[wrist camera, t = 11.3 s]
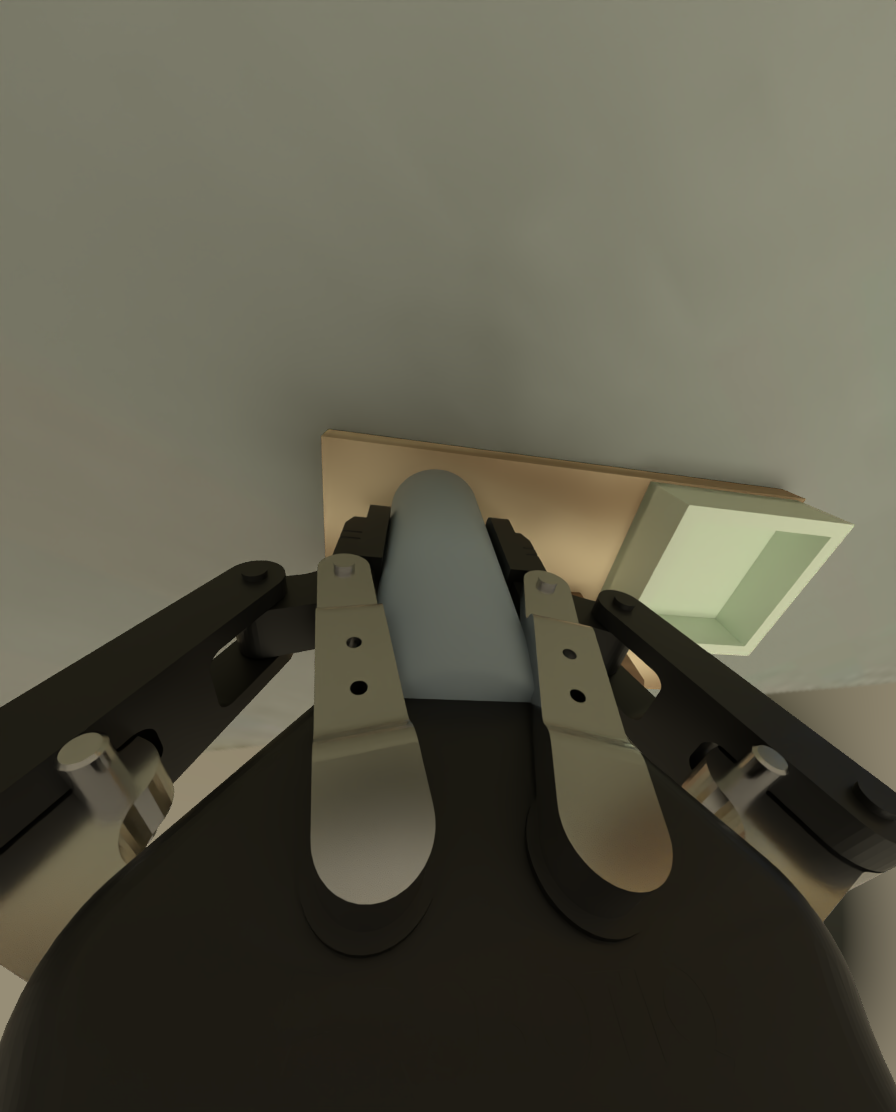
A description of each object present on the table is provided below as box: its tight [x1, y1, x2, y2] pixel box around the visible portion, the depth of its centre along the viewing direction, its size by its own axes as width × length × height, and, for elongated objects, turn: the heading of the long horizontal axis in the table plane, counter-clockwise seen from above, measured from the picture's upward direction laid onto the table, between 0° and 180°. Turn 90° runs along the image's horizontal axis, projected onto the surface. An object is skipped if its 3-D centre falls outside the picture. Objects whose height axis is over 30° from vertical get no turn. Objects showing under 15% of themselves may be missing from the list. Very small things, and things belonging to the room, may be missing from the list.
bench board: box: [321, 429, 805, 689], centre depth 17 cm, size 13×21×5 cm, turn 82°
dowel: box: [376, 469, 535, 702], centre depth 11 cm, size 4×4×10 cm
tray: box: [600, 481, 855, 656], centre depth 16 cm, size 7×7×2 cm
